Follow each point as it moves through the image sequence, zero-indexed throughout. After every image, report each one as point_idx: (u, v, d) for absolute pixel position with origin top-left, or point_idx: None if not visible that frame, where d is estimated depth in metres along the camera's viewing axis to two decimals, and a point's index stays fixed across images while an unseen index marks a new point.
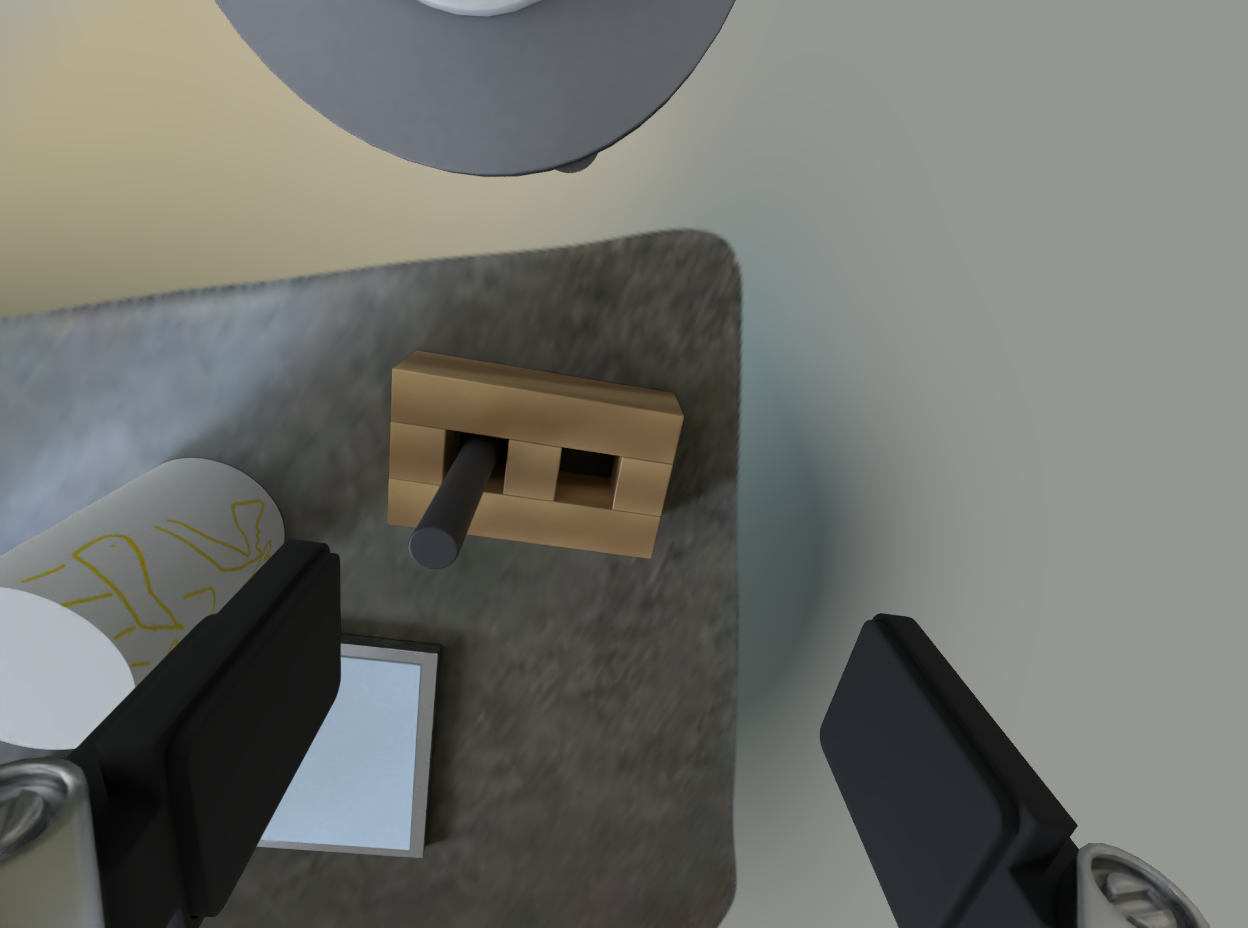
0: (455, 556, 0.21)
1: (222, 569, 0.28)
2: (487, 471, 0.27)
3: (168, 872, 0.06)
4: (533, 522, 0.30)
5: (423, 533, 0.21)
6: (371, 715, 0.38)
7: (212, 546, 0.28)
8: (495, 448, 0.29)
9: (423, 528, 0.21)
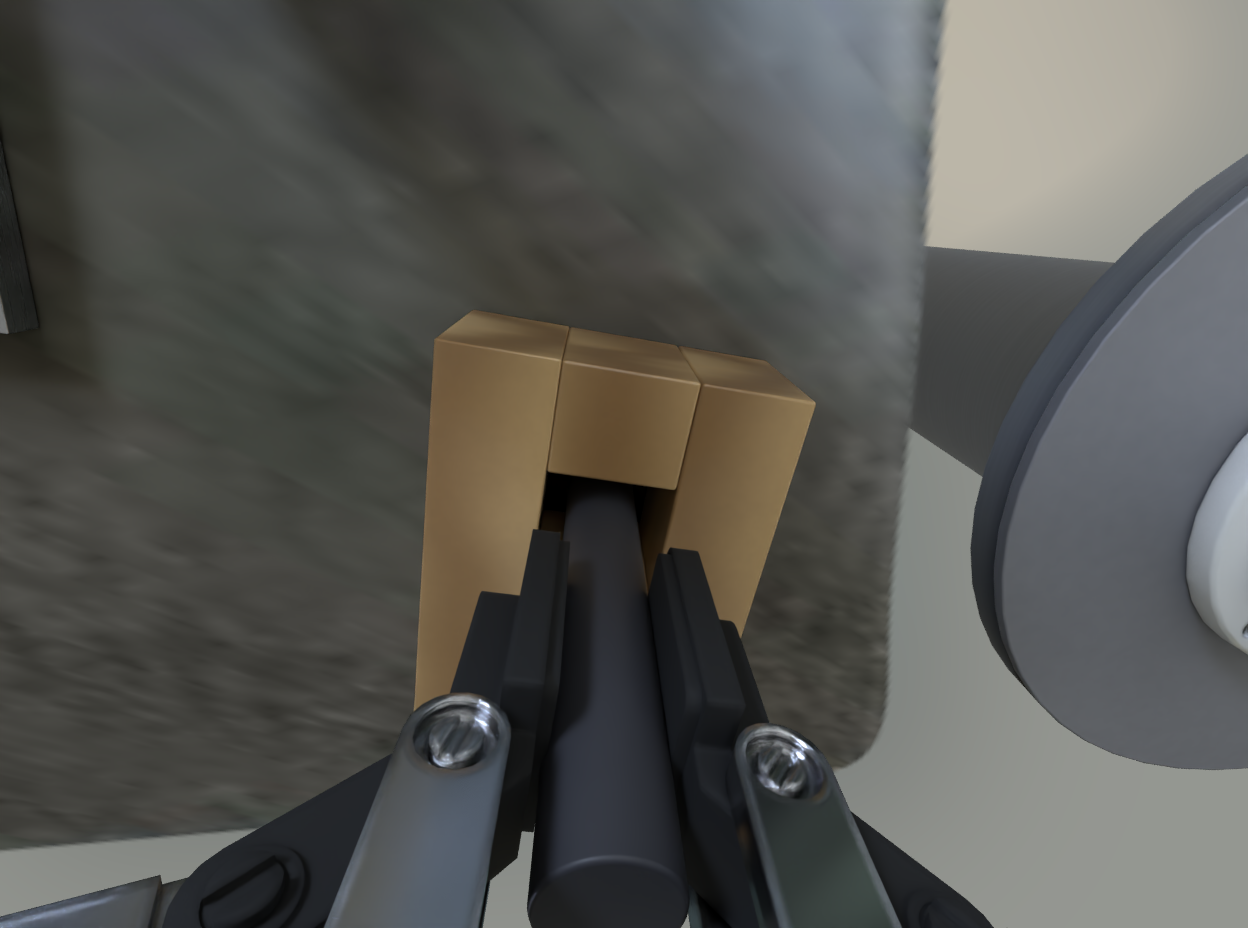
0: None
1: None
2: None
3: None
4: None
5: (668, 893, 0.06)
6: None
7: None
8: None
9: (685, 892, 0.06)
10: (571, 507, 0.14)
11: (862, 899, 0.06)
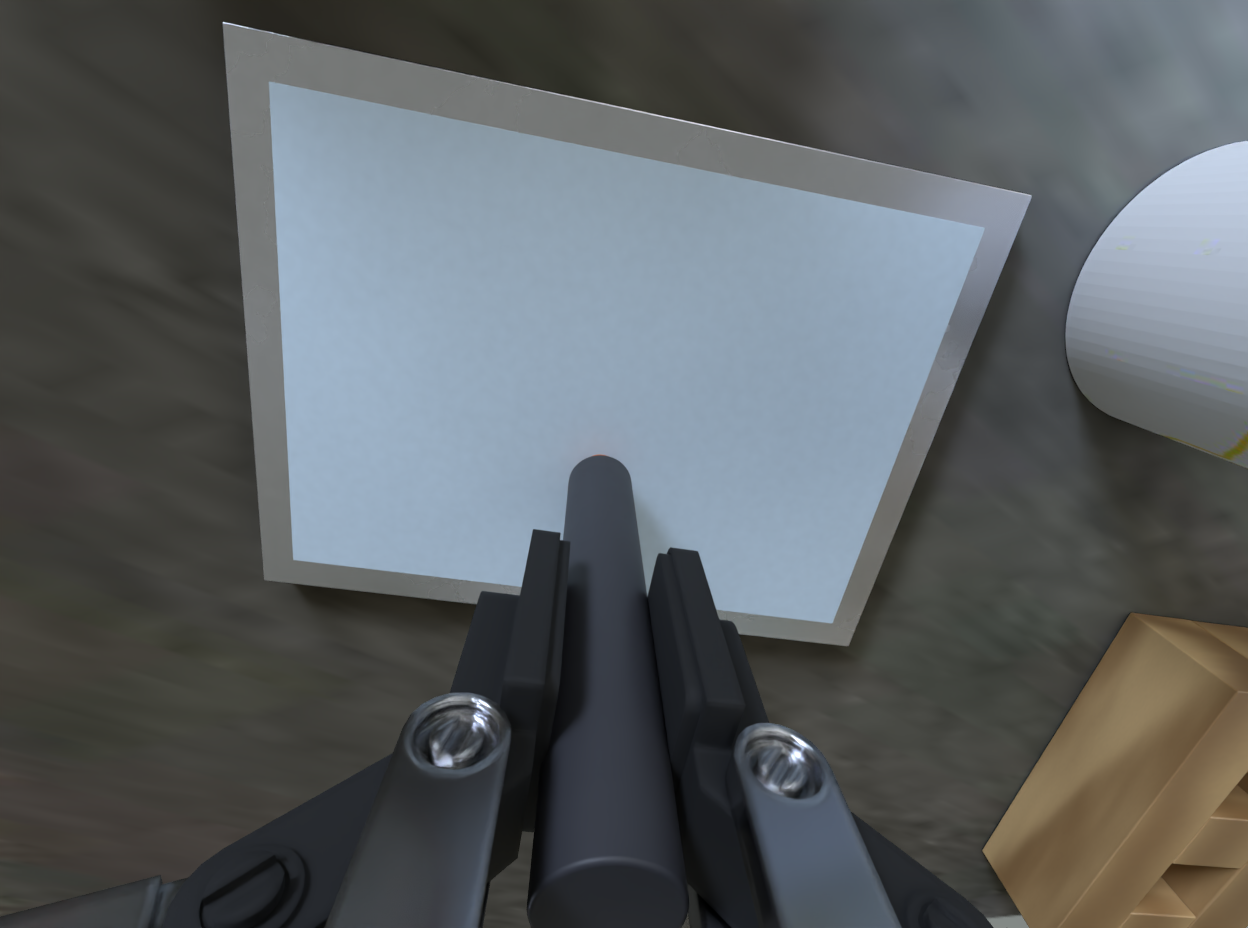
0: None
1: None
2: None
3: None
4: (1152, 846, 0.21)
5: (667, 894, 0.06)
6: (725, 533, 0.19)
7: None
8: None
9: (685, 894, 0.06)
10: (571, 508, 0.14)
11: (862, 899, 0.06)
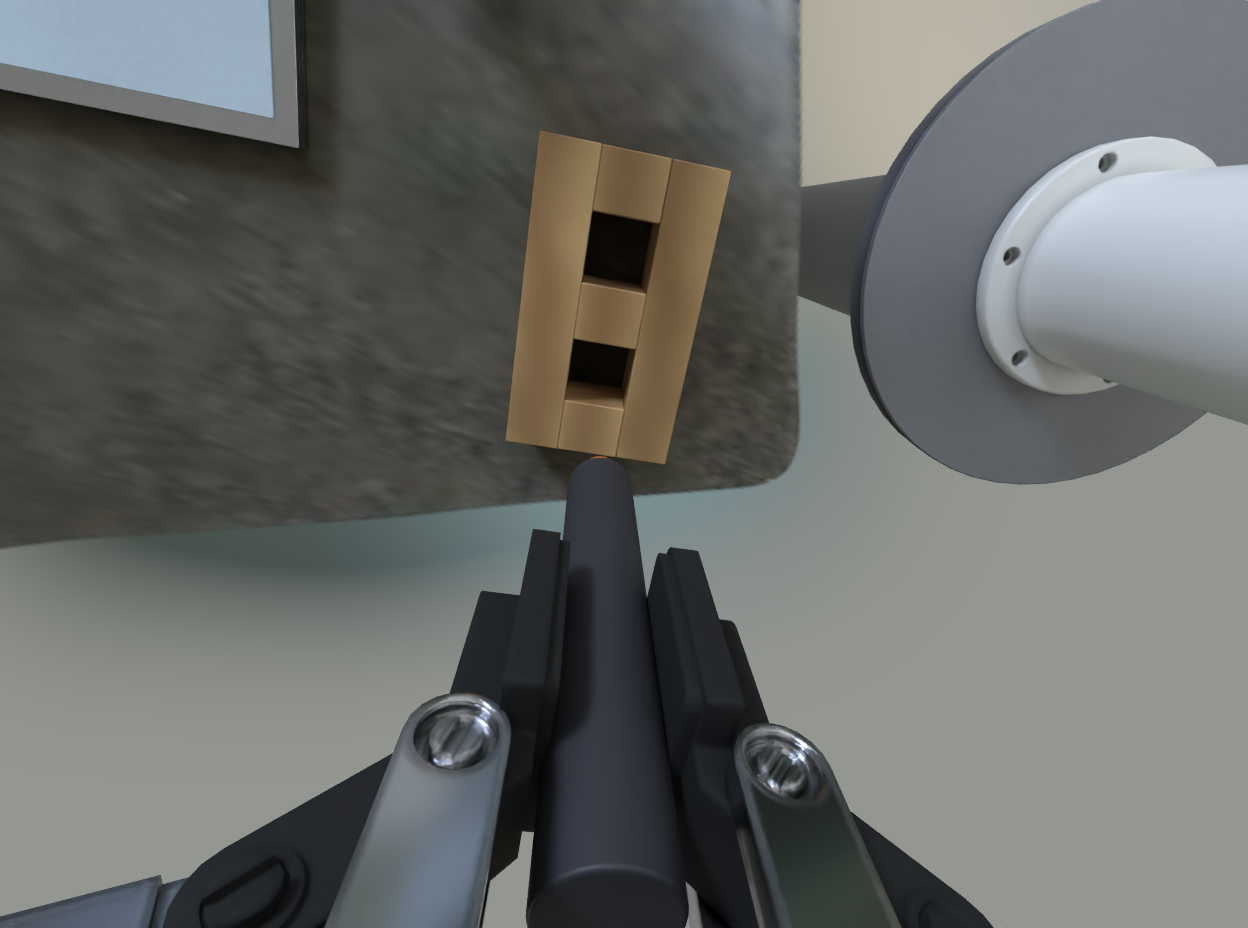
0: None
1: None
2: None
3: None
4: (547, 315, 0.27)
5: (667, 902, 0.06)
6: (152, 13, 0.24)
7: None
8: None
9: (684, 901, 0.06)
10: (570, 510, 0.14)
11: (862, 899, 0.06)
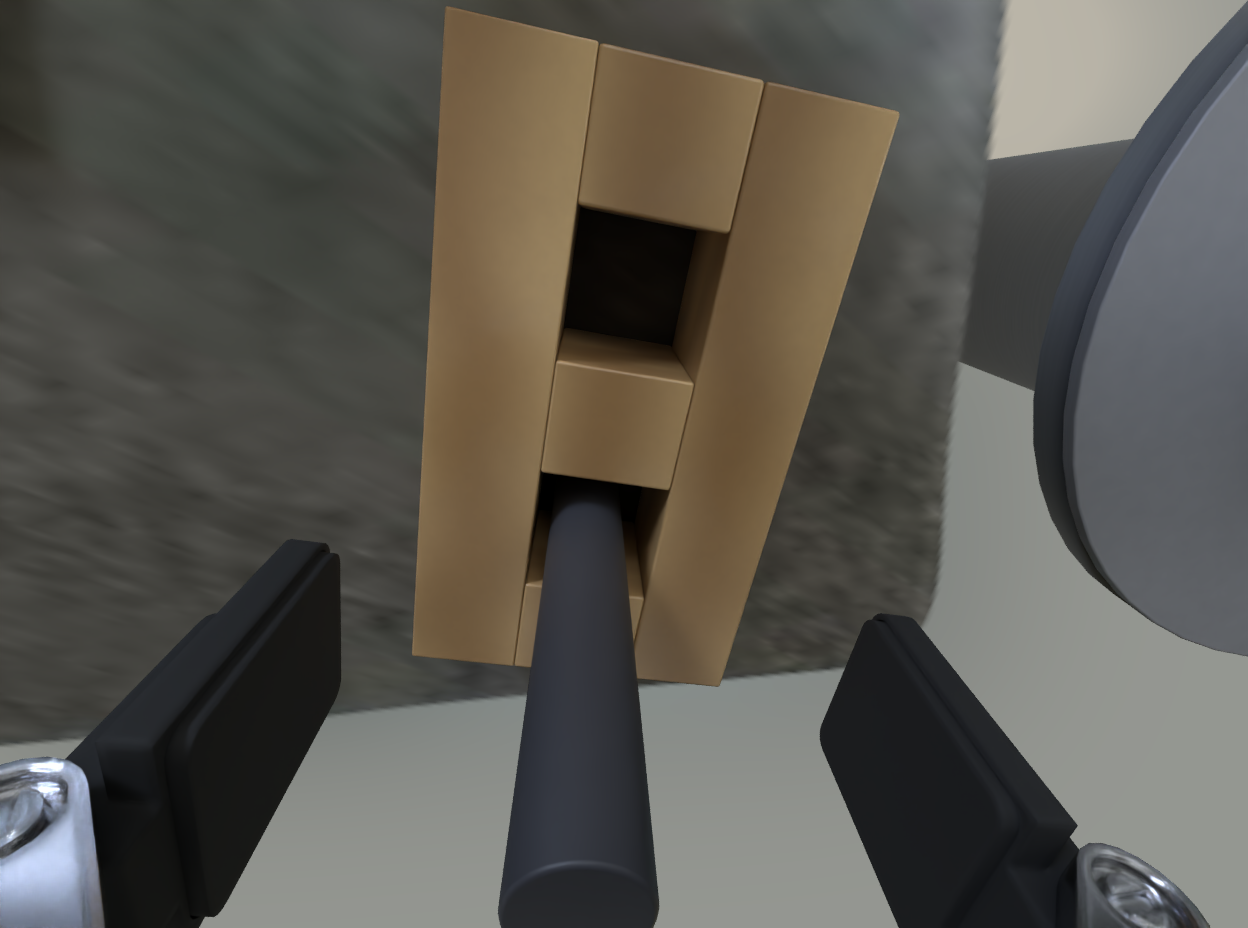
0: None
1: None
2: None
3: (168, 872, 0.06)
4: (483, 427, 0.12)
5: (636, 898, 0.06)
6: None
7: None
8: None
9: (653, 897, 0.06)
10: (556, 512, 0.14)
11: None
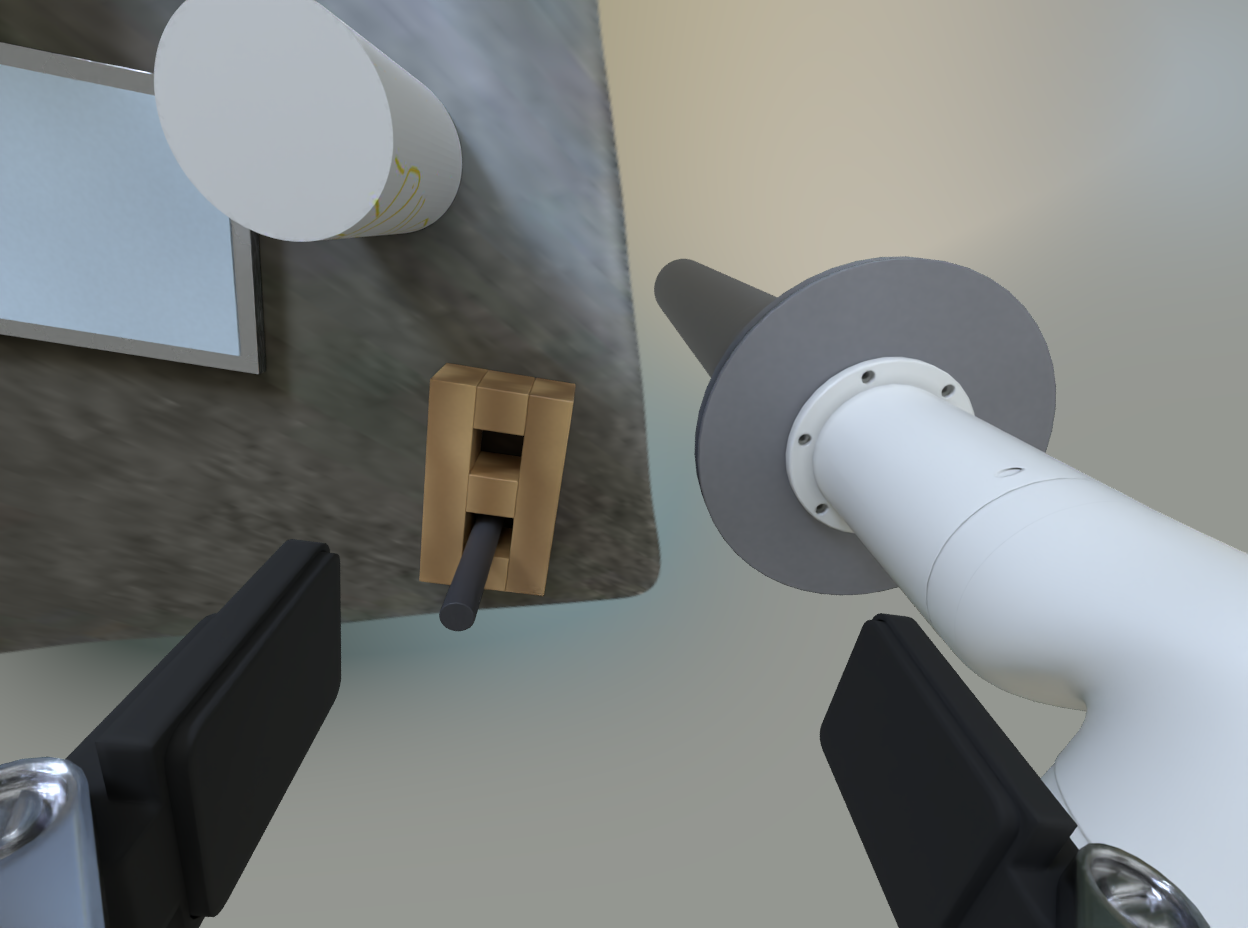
0: (451, 629, 0.30)
1: None
2: None
3: (168, 872, 0.06)
4: (444, 496, 0.36)
5: (469, 612, 0.29)
6: (150, 292, 0.33)
7: (395, 229, 0.28)
8: None
9: (472, 612, 0.30)
10: (474, 525, 0.37)
11: None
